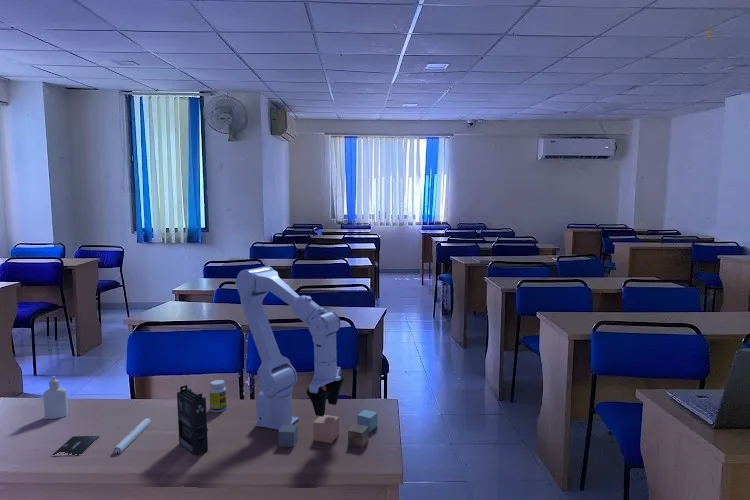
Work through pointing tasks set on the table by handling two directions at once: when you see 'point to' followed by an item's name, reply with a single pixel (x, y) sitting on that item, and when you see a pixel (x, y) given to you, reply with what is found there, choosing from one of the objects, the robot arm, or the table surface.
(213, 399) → the supplement bottle
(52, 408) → the eye dropper bottle
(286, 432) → the charcoal block
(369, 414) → the dull teal block
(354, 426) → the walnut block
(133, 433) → the marker
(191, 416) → the geiger counter
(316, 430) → the terracotta block
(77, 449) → the solid state drive
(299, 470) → the table surface
